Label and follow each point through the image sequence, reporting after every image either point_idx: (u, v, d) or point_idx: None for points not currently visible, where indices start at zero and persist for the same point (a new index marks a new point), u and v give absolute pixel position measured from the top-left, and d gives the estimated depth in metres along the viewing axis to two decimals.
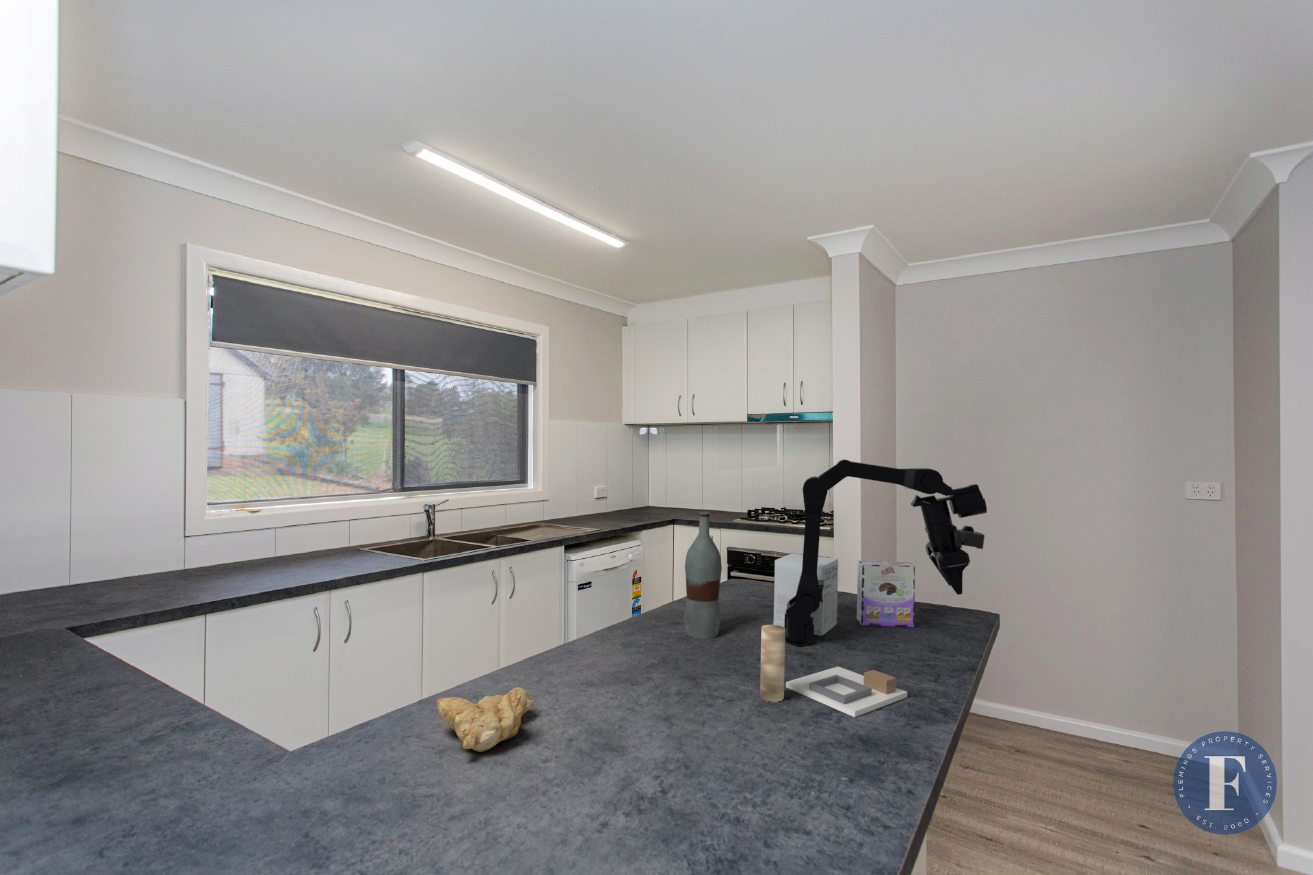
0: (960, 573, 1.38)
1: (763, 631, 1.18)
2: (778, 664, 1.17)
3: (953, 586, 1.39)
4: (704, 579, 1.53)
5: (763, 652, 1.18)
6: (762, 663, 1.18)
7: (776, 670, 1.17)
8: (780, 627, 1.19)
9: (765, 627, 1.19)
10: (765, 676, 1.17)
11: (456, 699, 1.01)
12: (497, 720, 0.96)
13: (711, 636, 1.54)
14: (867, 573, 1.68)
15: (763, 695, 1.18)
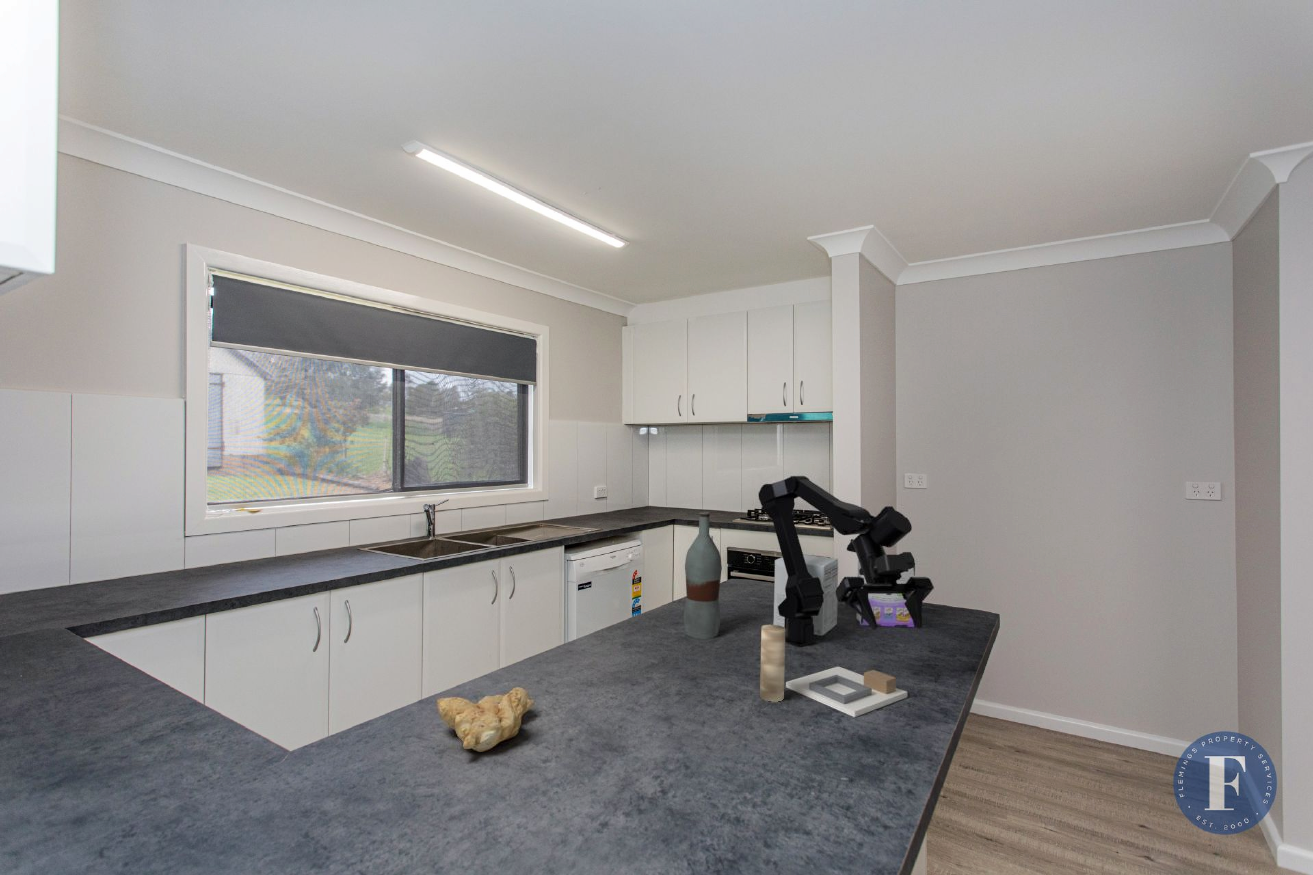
0: (862, 603, 1.24)
1: (763, 631, 1.18)
2: (778, 663, 1.17)
3: (866, 620, 1.24)
4: (704, 579, 1.53)
5: (763, 652, 1.18)
6: (762, 663, 1.18)
7: (776, 670, 1.17)
8: (780, 627, 1.19)
9: (765, 627, 1.19)
10: (765, 676, 1.17)
11: (456, 699, 1.01)
12: (497, 720, 0.96)
13: (711, 636, 1.54)
14: None
15: (763, 695, 1.18)
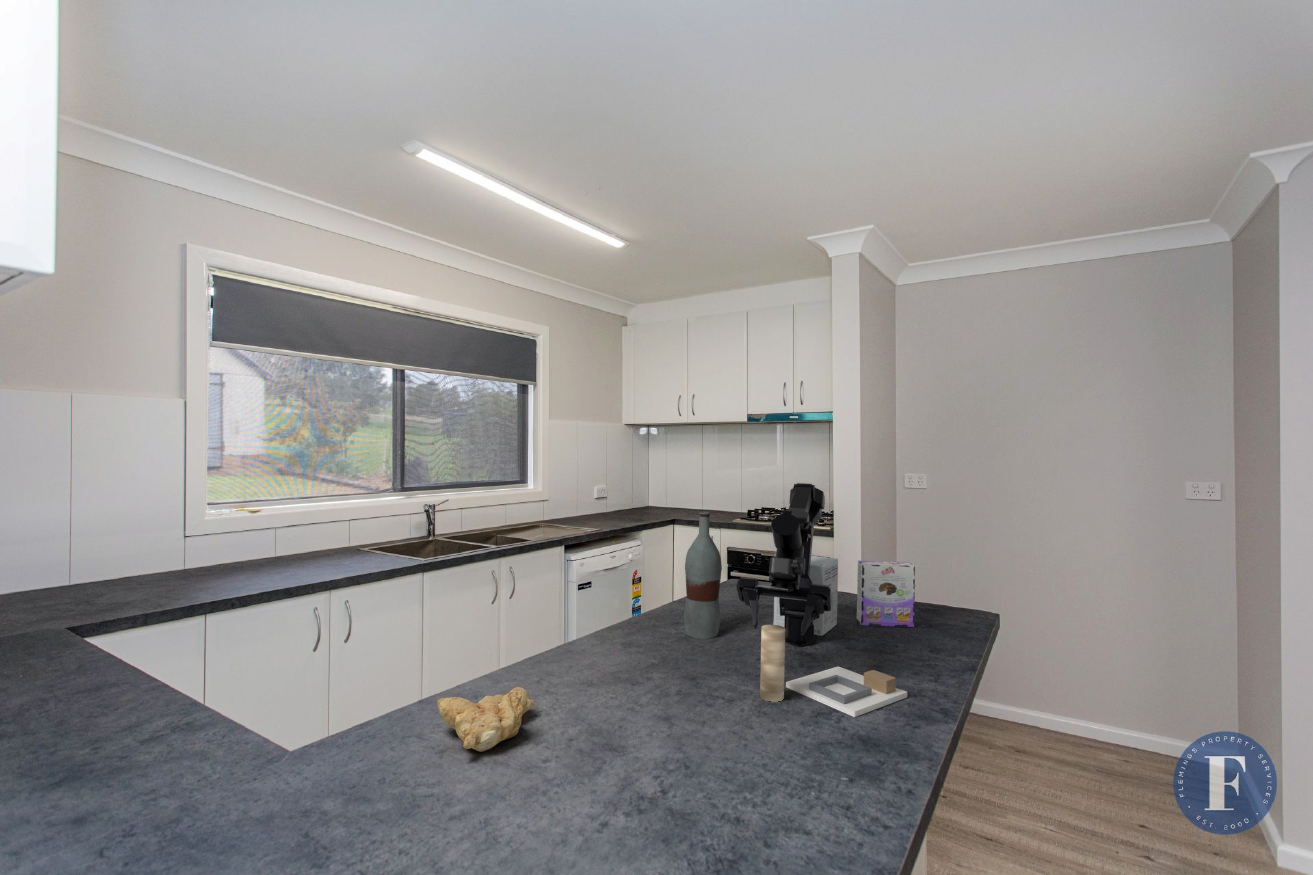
0: None
1: (763, 631, 1.18)
2: (778, 664, 1.17)
3: None
4: (704, 579, 1.53)
5: (763, 652, 1.18)
6: (762, 663, 1.18)
7: (776, 670, 1.17)
8: (780, 627, 1.19)
9: (765, 627, 1.19)
10: (765, 676, 1.17)
11: (456, 699, 1.01)
12: (498, 720, 0.96)
13: (711, 636, 1.54)
14: (867, 573, 1.68)
15: (763, 695, 1.18)
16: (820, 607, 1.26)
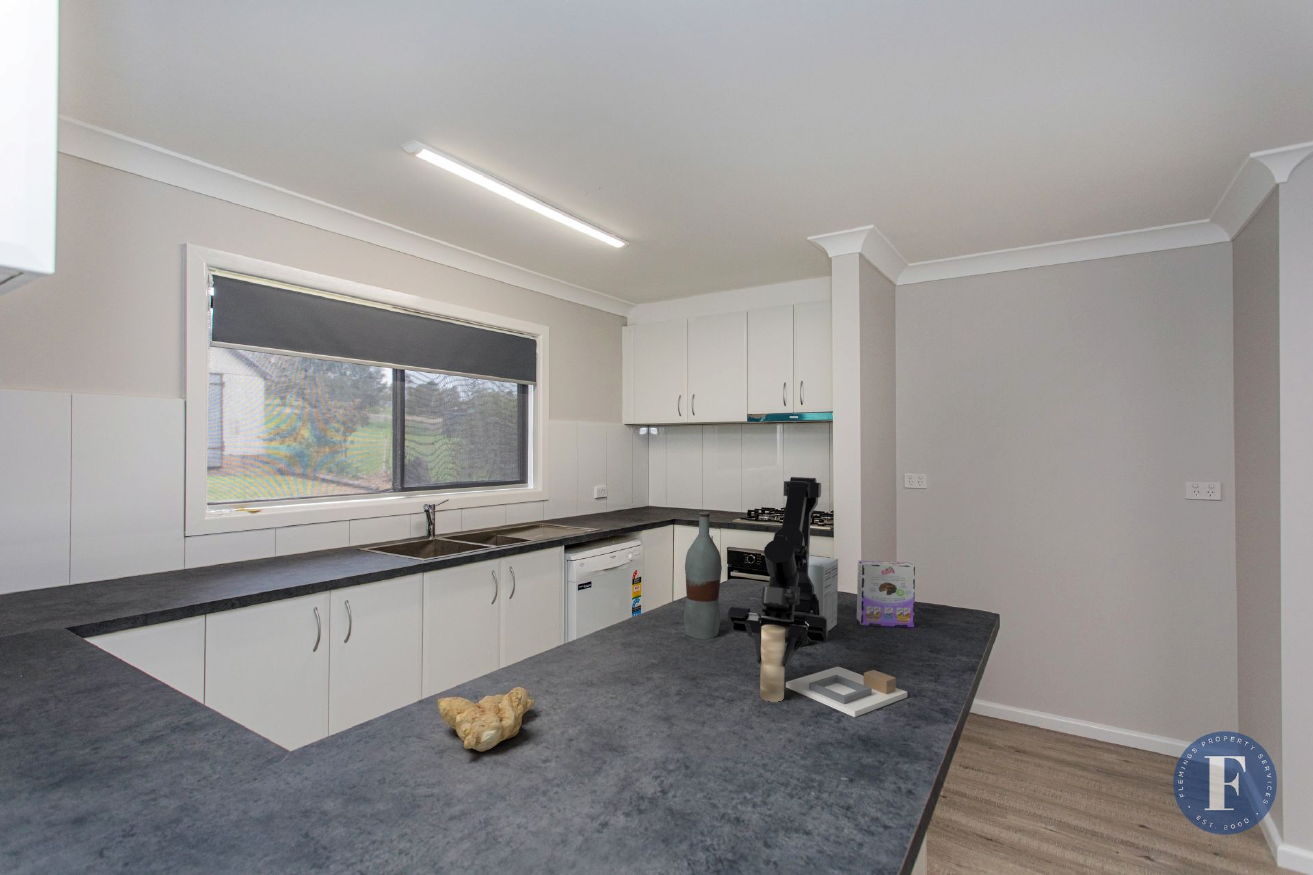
0: None
1: (763, 631, 1.18)
2: (778, 663, 1.17)
3: None
4: (704, 579, 1.53)
5: (763, 652, 1.18)
6: (762, 663, 1.18)
7: (776, 670, 1.17)
8: (780, 627, 1.19)
9: (765, 627, 1.19)
10: (765, 676, 1.17)
11: (457, 699, 1.01)
12: (498, 720, 0.96)
13: (711, 636, 1.54)
14: (867, 573, 1.68)
15: (763, 695, 1.18)
16: (804, 638, 1.20)
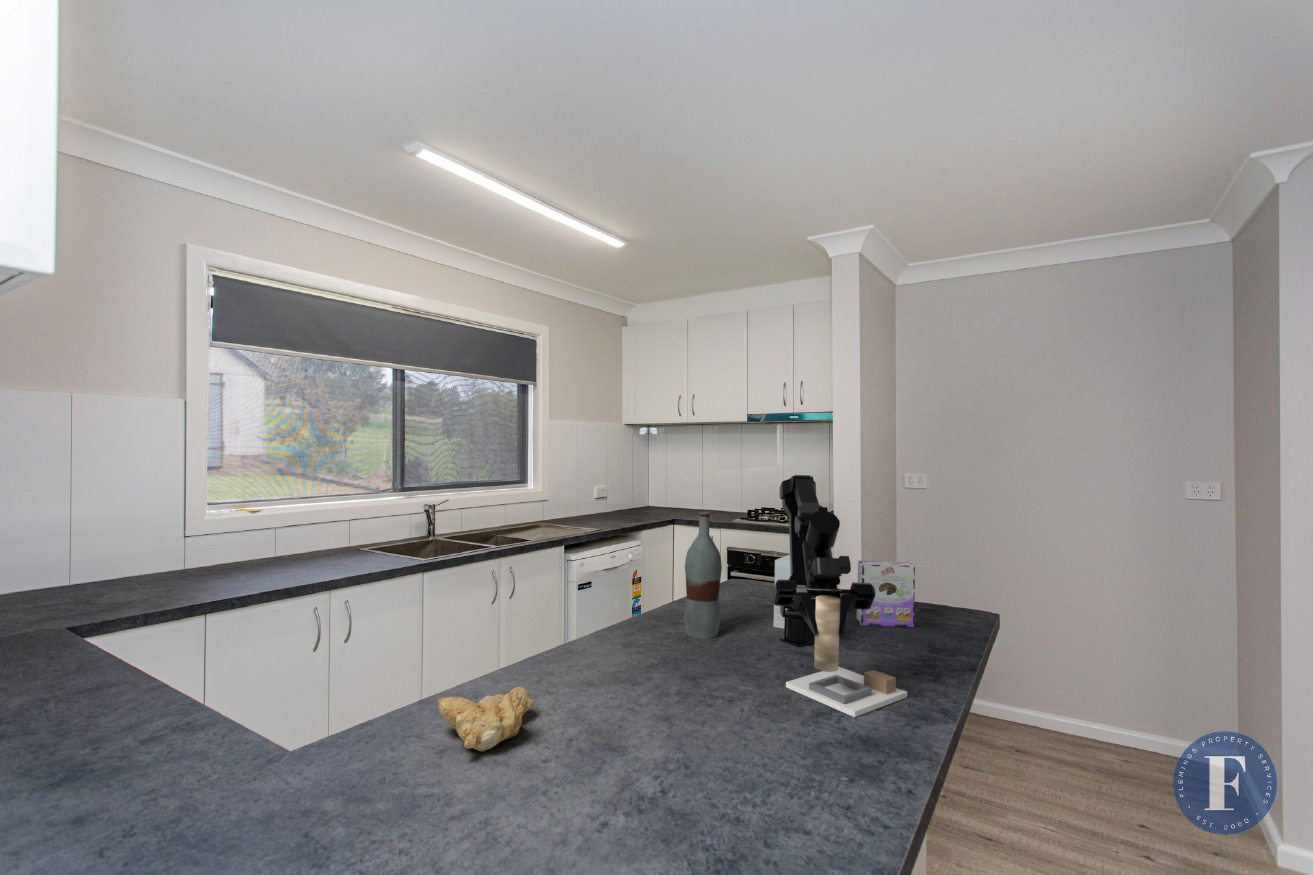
0: (805, 608, 1.21)
1: (820, 602, 1.18)
2: (836, 633, 1.17)
3: (809, 626, 1.20)
4: (704, 579, 1.53)
5: (821, 623, 1.18)
6: (819, 634, 1.18)
7: (834, 640, 1.17)
8: (833, 597, 1.20)
9: (820, 598, 1.19)
10: (823, 647, 1.17)
11: (457, 699, 1.01)
12: (498, 720, 0.96)
13: (711, 636, 1.54)
14: (867, 573, 1.68)
15: (821, 666, 1.18)
16: (851, 606, 1.22)
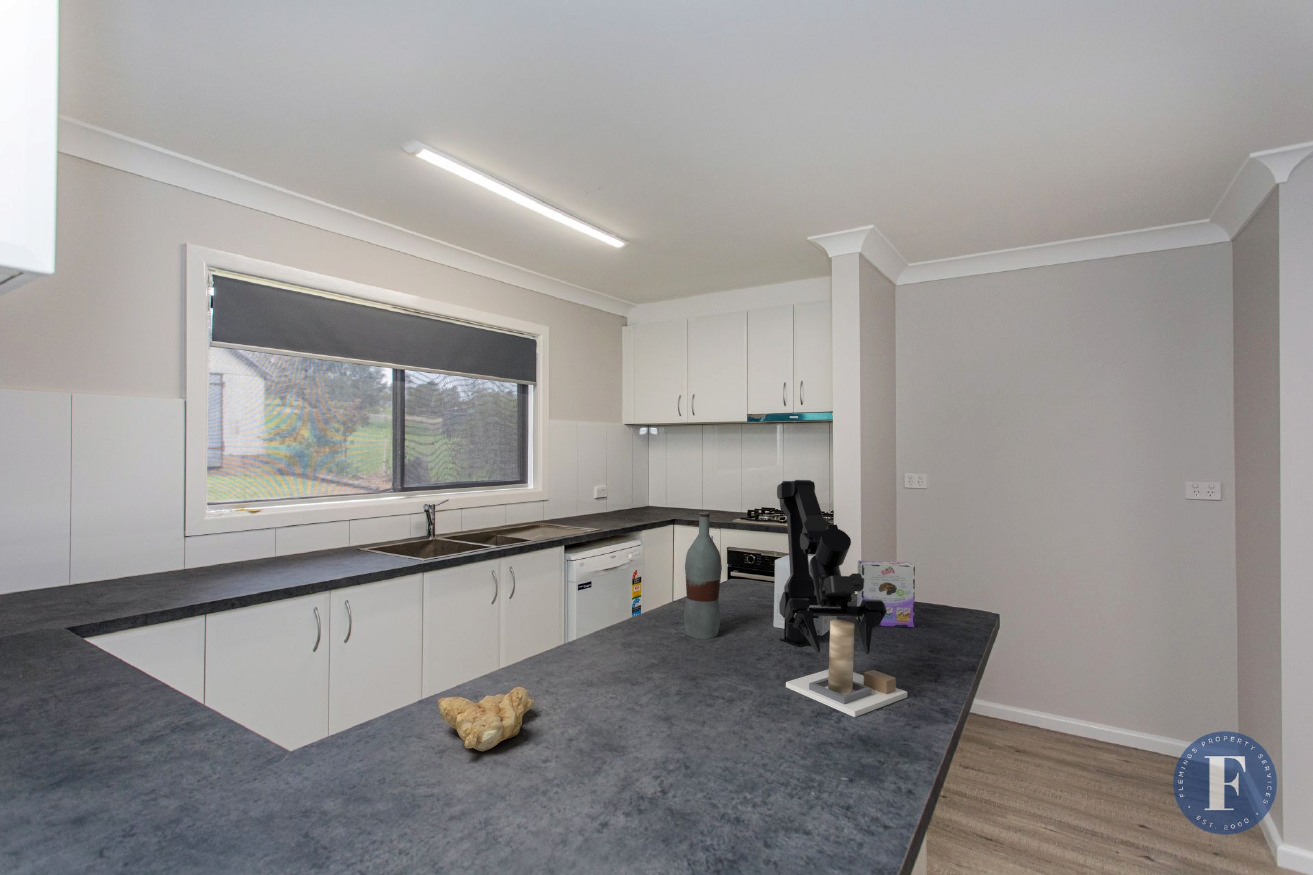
0: (807, 626, 1.21)
1: (836, 627, 1.18)
2: (851, 658, 1.18)
3: (811, 644, 1.20)
4: (704, 579, 1.53)
5: (837, 648, 1.18)
6: (834, 659, 1.18)
7: (849, 664, 1.18)
8: (846, 621, 1.21)
9: (835, 623, 1.19)
10: (838, 672, 1.18)
11: (457, 699, 1.01)
12: (499, 719, 0.96)
13: (711, 636, 1.54)
14: (867, 573, 1.68)
15: (836, 691, 1.18)
16: (874, 623, 1.23)
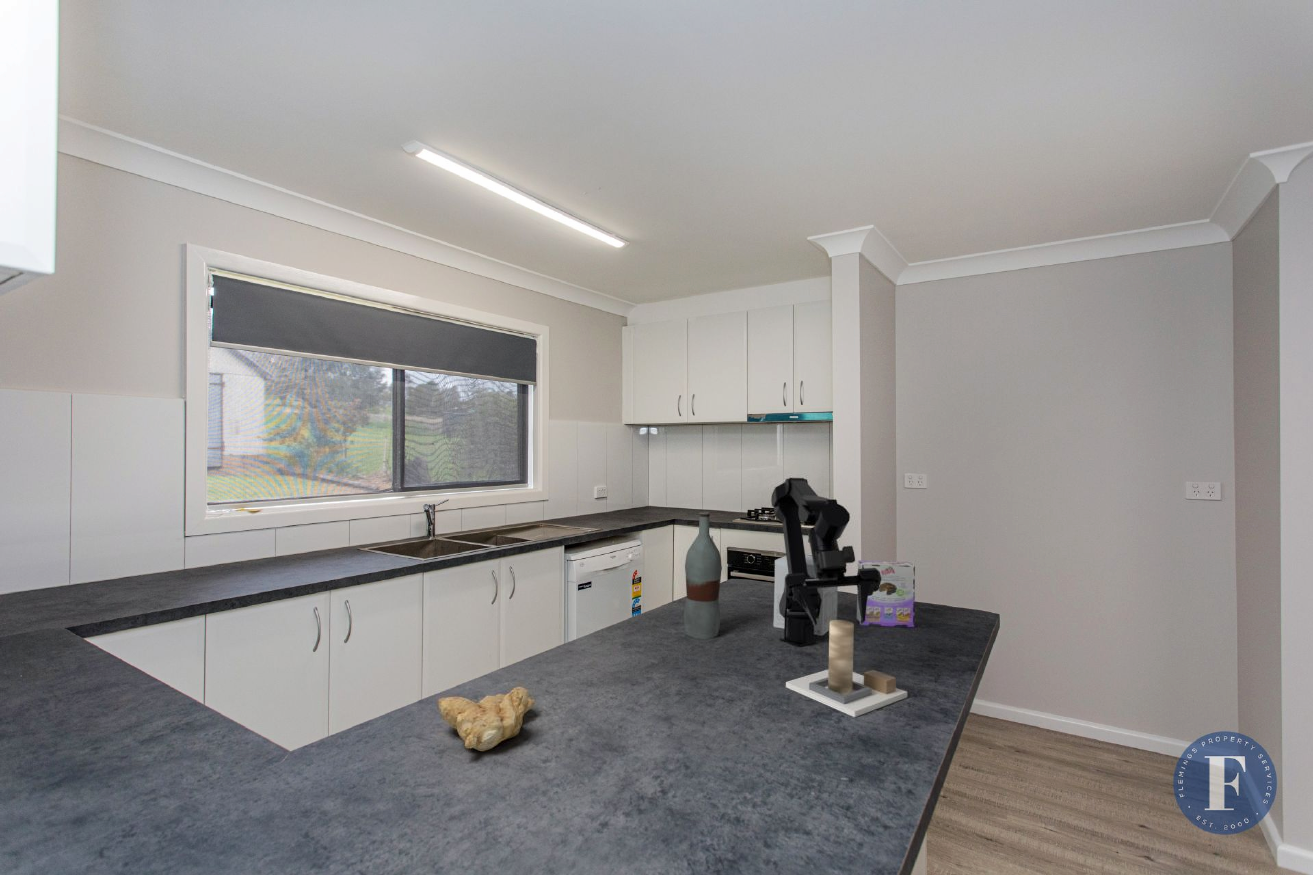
0: None
1: (835, 627, 1.18)
2: (850, 657, 1.18)
3: (809, 616, 1.26)
4: (704, 579, 1.53)
5: (836, 648, 1.18)
6: (834, 659, 1.18)
7: (849, 664, 1.18)
8: (846, 621, 1.21)
9: (835, 623, 1.19)
10: (838, 672, 1.18)
11: (458, 698, 1.01)
12: (499, 719, 0.96)
13: (711, 636, 1.54)
14: None
15: (836, 691, 1.18)
16: (871, 590, 1.28)
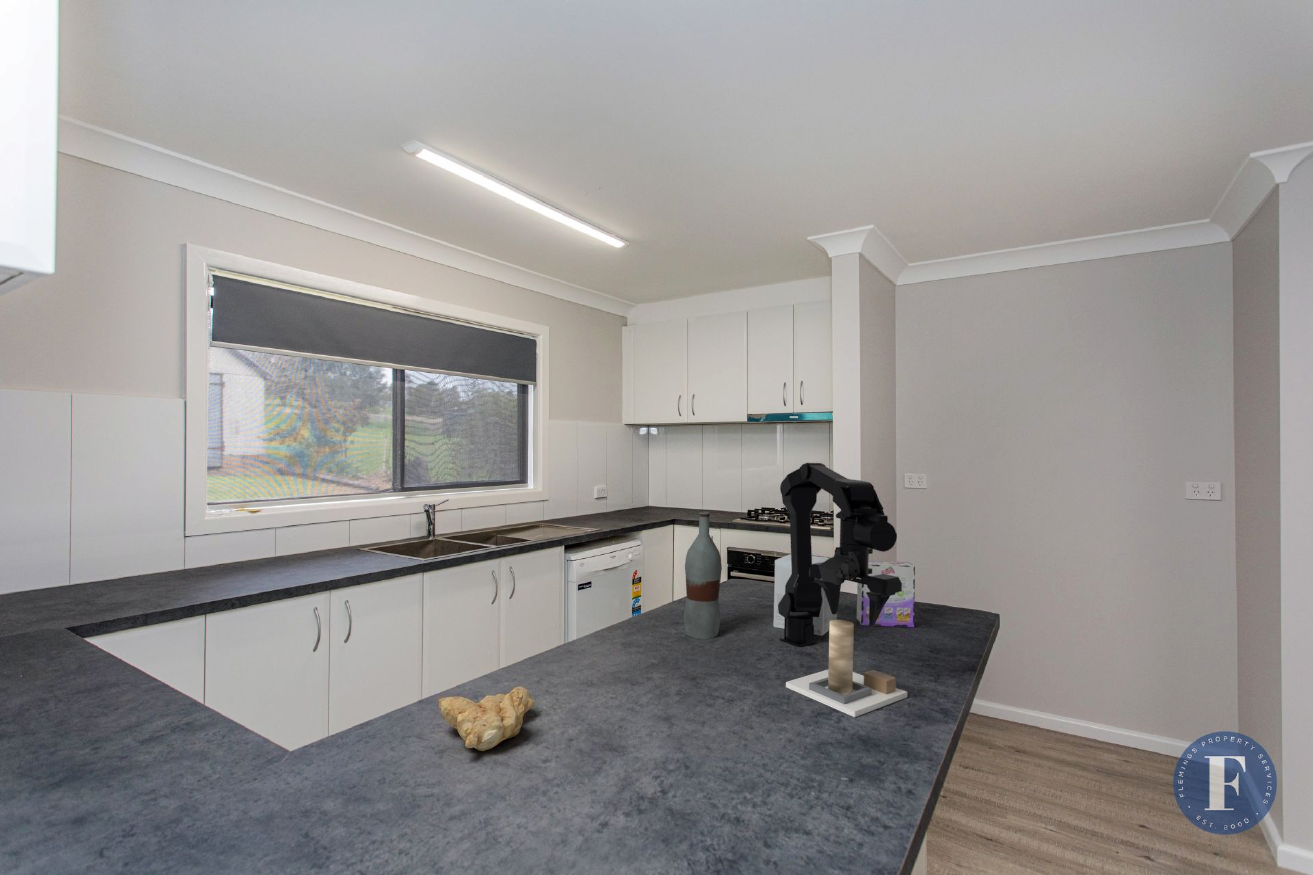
0: None
1: (835, 627, 1.18)
2: (850, 657, 1.18)
3: None
4: (704, 579, 1.53)
5: (836, 648, 1.18)
6: (834, 659, 1.18)
7: (849, 664, 1.18)
8: (846, 621, 1.21)
9: (835, 623, 1.19)
10: (838, 672, 1.18)
11: (458, 698, 1.01)
12: (499, 719, 0.97)
13: (711, 636, 1.54)
14: None
15: (836, 691, 1.18)
16: None
